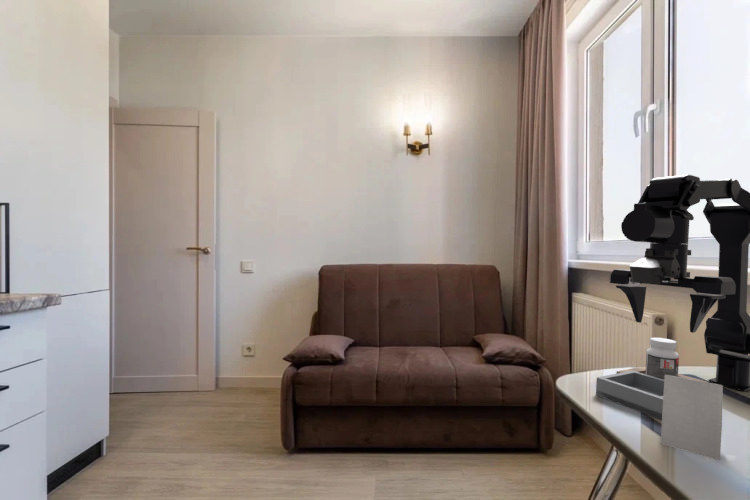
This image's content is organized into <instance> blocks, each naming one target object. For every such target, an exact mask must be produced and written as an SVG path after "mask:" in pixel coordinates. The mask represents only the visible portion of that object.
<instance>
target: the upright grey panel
mask: <svg viewBox="0 0 750 500" xmlns="http://www.w3.org/2000/svg"><path fill="white" fill-rule="evenodd" d="M703 381H704V380H702V381H698V380H692V379H687V378H681V377H676V376H671V375H665V377H664V394H663V411H662V420H661V431H660V432H661V433H660V445H664V446H668V447H671V448H674V449H679V450H682V451H686V452H689V453H693V454H696V455H697V454H698V455H700V456H703V457H707V458H710V459H711V458H712V459H715V460H721V447H722V432H723V431H722V430H723V429H722V428H723V397H724V396H723V393H724V392H723V391H724V386H723V385H719V384H715V383H711V382H709V381H706V382H703ZM708 382H709V383H708Z"/></svg>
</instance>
